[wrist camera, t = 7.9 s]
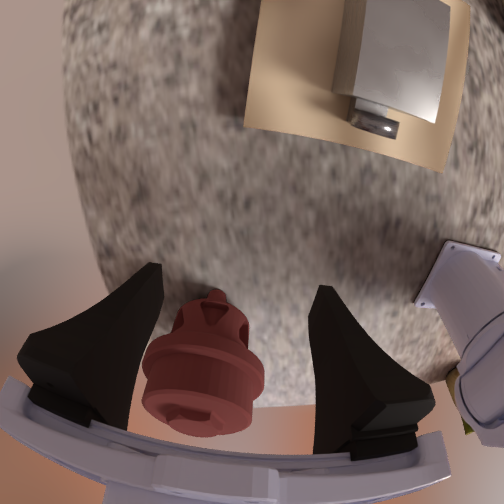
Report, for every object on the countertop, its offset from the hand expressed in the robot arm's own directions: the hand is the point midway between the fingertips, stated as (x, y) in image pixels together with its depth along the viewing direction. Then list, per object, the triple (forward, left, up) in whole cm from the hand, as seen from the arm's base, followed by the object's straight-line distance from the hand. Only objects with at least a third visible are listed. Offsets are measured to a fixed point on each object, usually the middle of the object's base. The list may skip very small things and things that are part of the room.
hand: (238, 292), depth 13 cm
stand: (-6, -13, -10) cm, 17 cm away
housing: (-6, -13, -7) cm, 16 cm away
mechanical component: (+2, +12, -10) cm, 16 cm away
